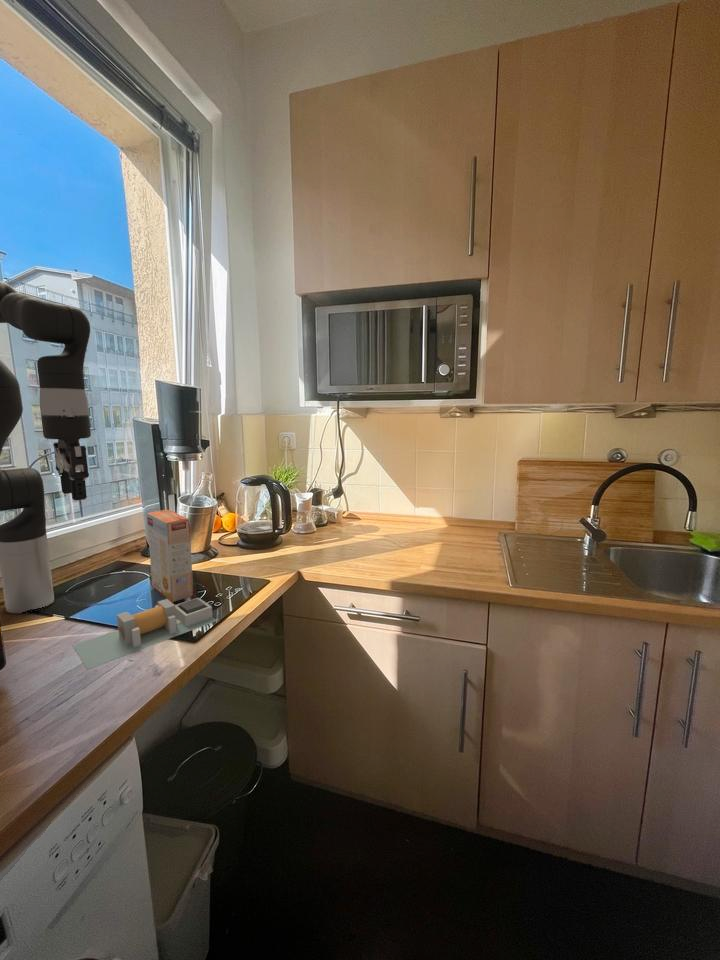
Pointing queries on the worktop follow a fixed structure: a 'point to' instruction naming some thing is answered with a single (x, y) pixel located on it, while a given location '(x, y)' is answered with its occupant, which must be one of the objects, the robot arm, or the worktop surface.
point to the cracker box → (170, 554)
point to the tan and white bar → (145, 620)
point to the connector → (192, 606)
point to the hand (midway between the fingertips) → (74, 496)
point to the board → (140, 637)
